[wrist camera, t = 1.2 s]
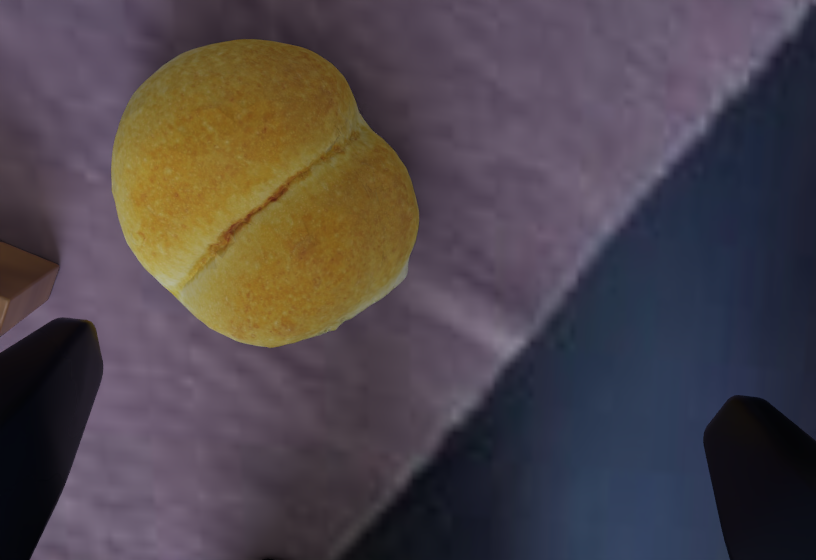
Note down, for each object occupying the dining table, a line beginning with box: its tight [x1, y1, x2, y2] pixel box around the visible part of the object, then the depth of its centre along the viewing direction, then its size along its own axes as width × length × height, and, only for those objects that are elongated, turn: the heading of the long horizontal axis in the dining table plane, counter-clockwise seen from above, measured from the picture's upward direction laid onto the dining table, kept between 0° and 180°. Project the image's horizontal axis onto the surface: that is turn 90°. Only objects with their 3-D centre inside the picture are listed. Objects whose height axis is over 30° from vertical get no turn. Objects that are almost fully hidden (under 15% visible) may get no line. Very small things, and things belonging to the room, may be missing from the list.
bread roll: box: [111, 39, 419, 348], centre depth 17 cm, size 8×9×4 cm
